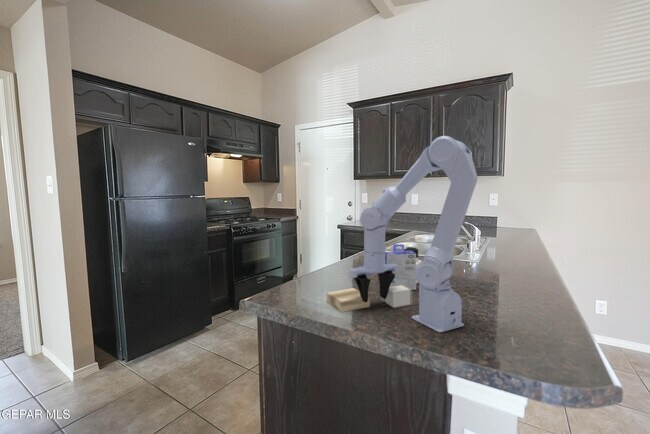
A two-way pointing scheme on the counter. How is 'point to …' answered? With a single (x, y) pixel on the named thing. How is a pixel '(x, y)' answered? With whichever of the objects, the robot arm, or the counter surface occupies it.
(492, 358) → the counter surface
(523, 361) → the counter surface
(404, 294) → the off-white cardboard box
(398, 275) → the ink cartridge box
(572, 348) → the counter surface
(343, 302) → the maple block
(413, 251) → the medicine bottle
